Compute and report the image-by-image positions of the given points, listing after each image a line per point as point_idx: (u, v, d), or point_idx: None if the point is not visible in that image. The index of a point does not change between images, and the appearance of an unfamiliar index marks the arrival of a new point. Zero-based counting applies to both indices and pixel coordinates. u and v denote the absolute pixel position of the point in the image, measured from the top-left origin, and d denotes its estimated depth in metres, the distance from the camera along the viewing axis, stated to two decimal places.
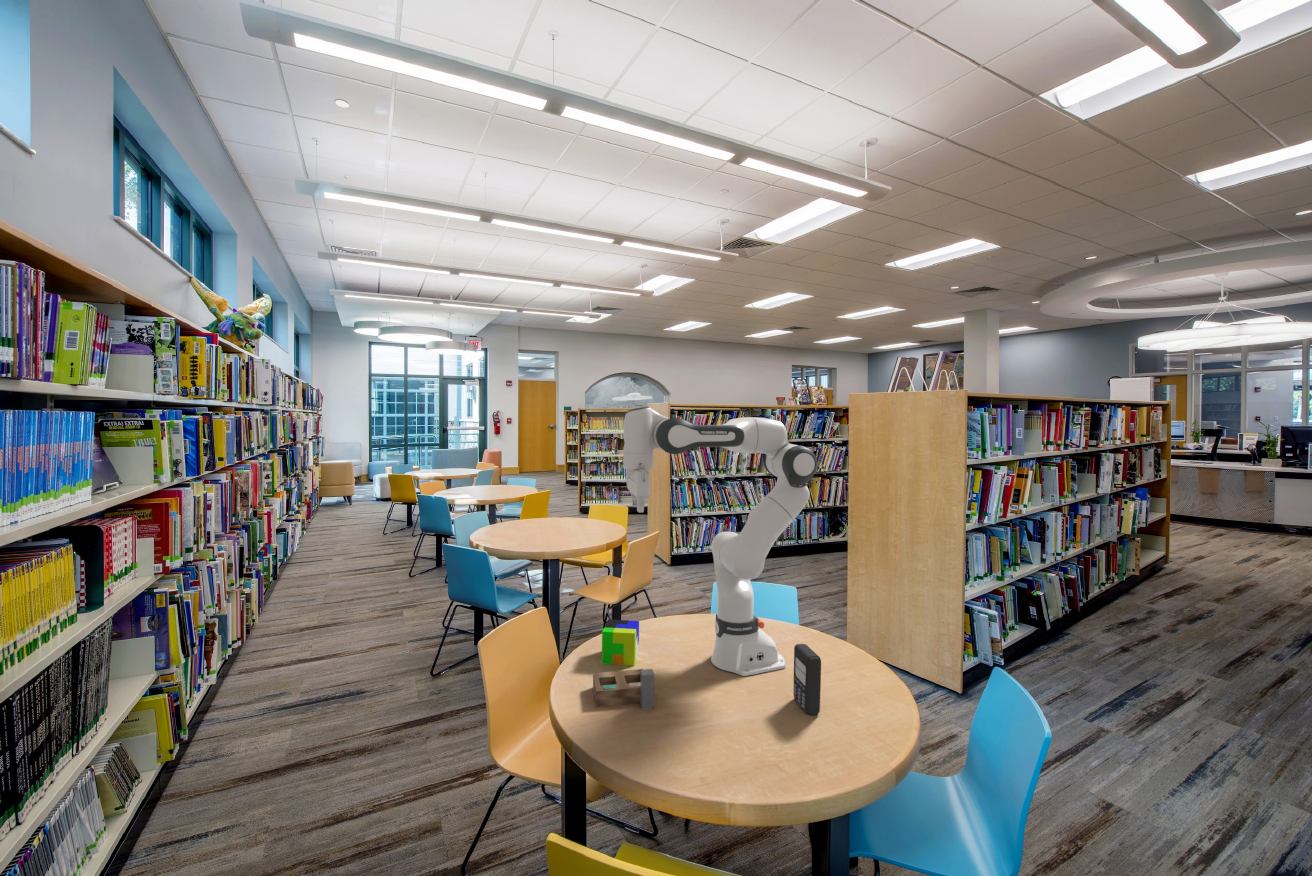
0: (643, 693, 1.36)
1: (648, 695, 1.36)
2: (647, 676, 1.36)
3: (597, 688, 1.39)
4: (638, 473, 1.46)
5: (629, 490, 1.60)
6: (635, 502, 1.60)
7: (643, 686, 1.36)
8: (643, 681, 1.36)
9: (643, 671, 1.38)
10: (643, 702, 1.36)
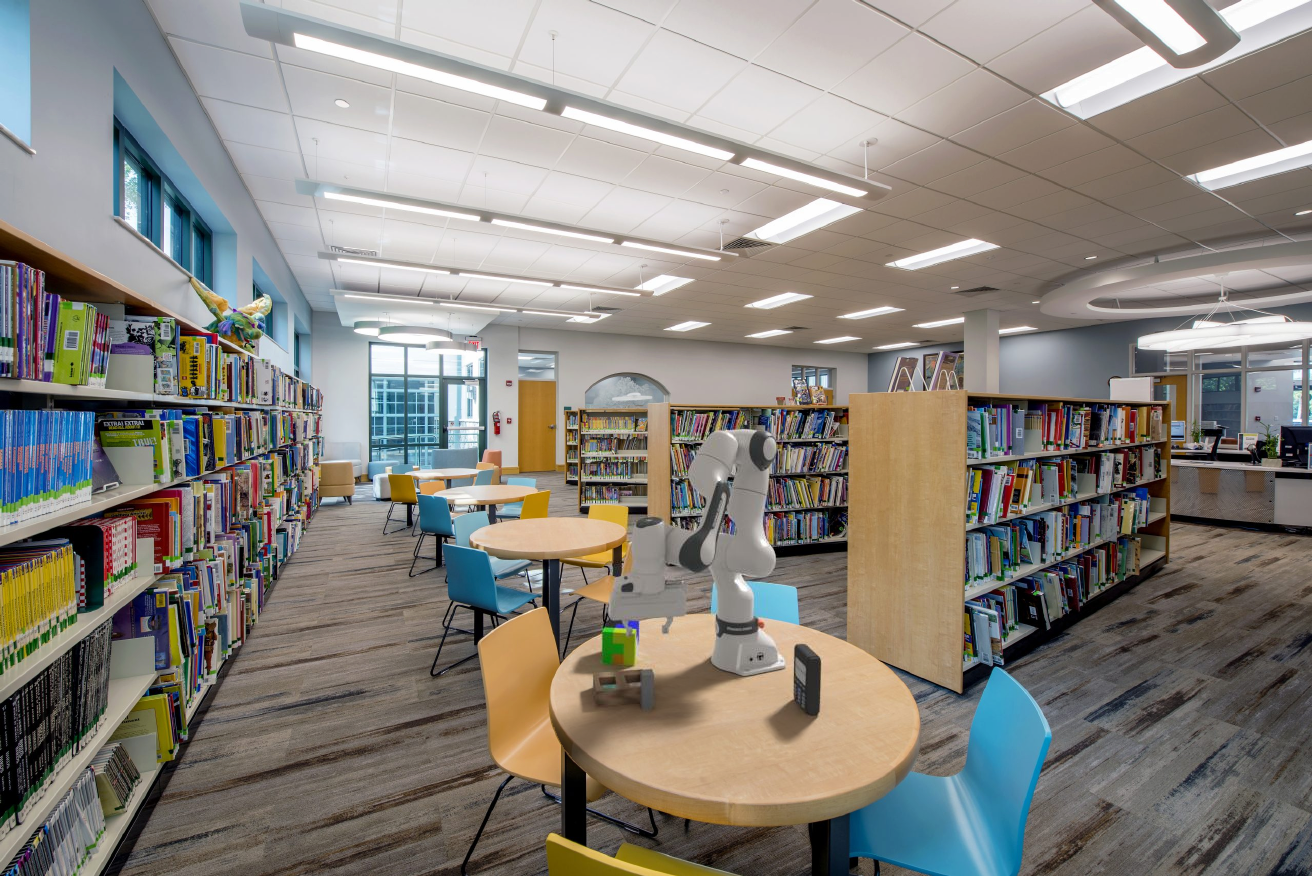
0: (643, 693, 1.36)
1: (648, 695, 1.36)
2: (647, 676, 1.36)
3: (597, 688, 1.39)
4: (682, 590, 1.37)
5: (628, 619, 1.34)
6: None
7: (643, 686, 1.36)
8: (643, 681, 1.36)
9: (643, 671, 1.38)
10: (643, 702, 1.36)
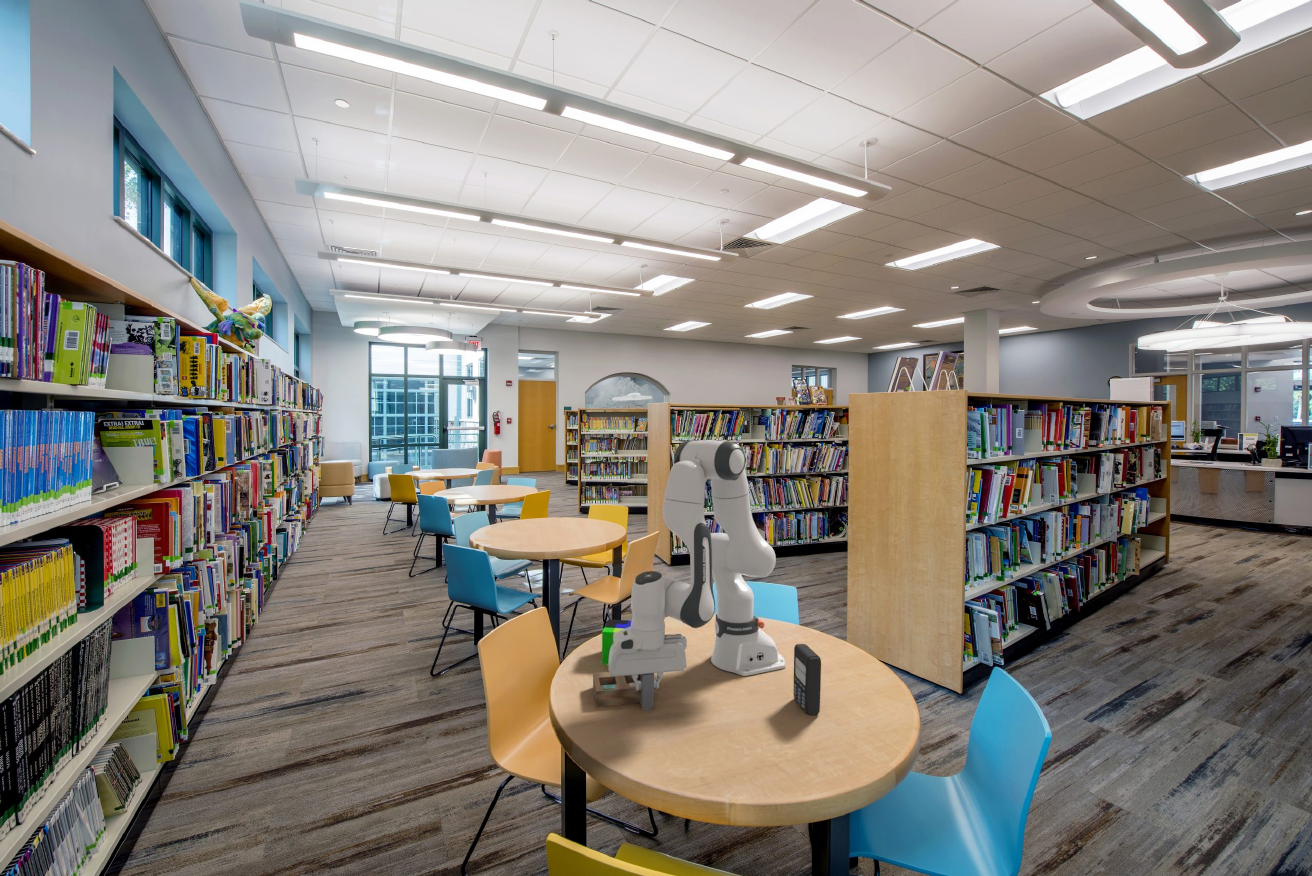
0: (643, 693, 1.36)
1: (648, 695, 1.36)
2: (647, 676, 1.36)
3: (597, 688, 1.39)
4: (682, 644, 1.38)
5: None
6: (641, 683, 1.37)
7: (643, 686, 1.36)
8: (643, 681, 1.36)
9: None
10: (643, 702, 1.36)
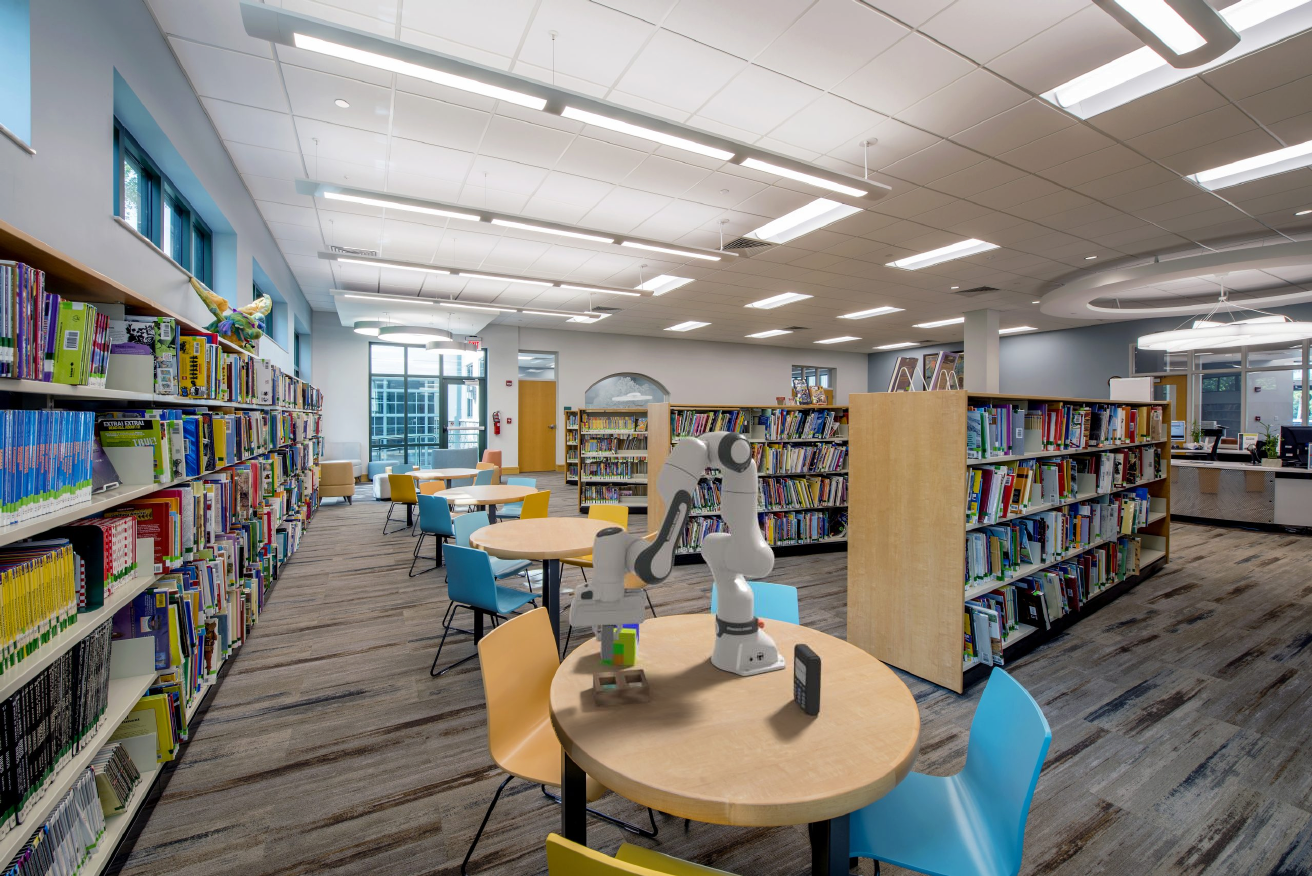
0: (602, 644, 1.40)
1: (607, 646, 1.41)
2: (607, 627, 1.41)
3: (597, 688, 1.39)
4: (641, 598, 1.42)
5: (587, 625, 1.39)
6: None
7: (603, 637, 1.40)
8: (603, 632, 1.40)
9: None
10: (602, 653, 1.40)
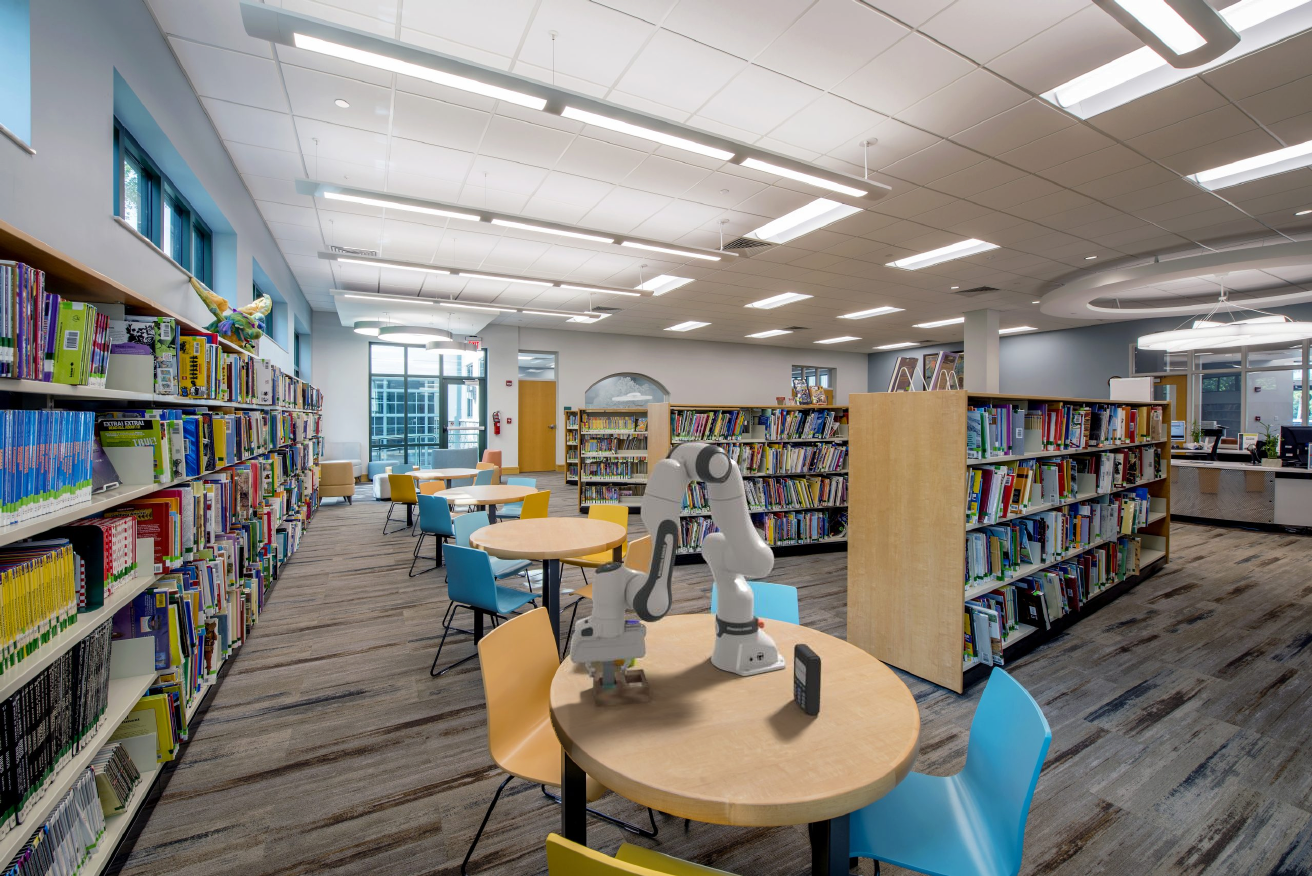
0: (604, 683, 1.41)
1: None
2: (607, 666, 1.41)
3: (597, 688, 1.39)
4: (641, 632, 1.43)
5: (588, 661, 1.40)
6: (594, 671, 1.42)
7: (604, 676, 1.41)
8: (604, 671, 1.41)
9: (604, 662, 1.43)
10: None
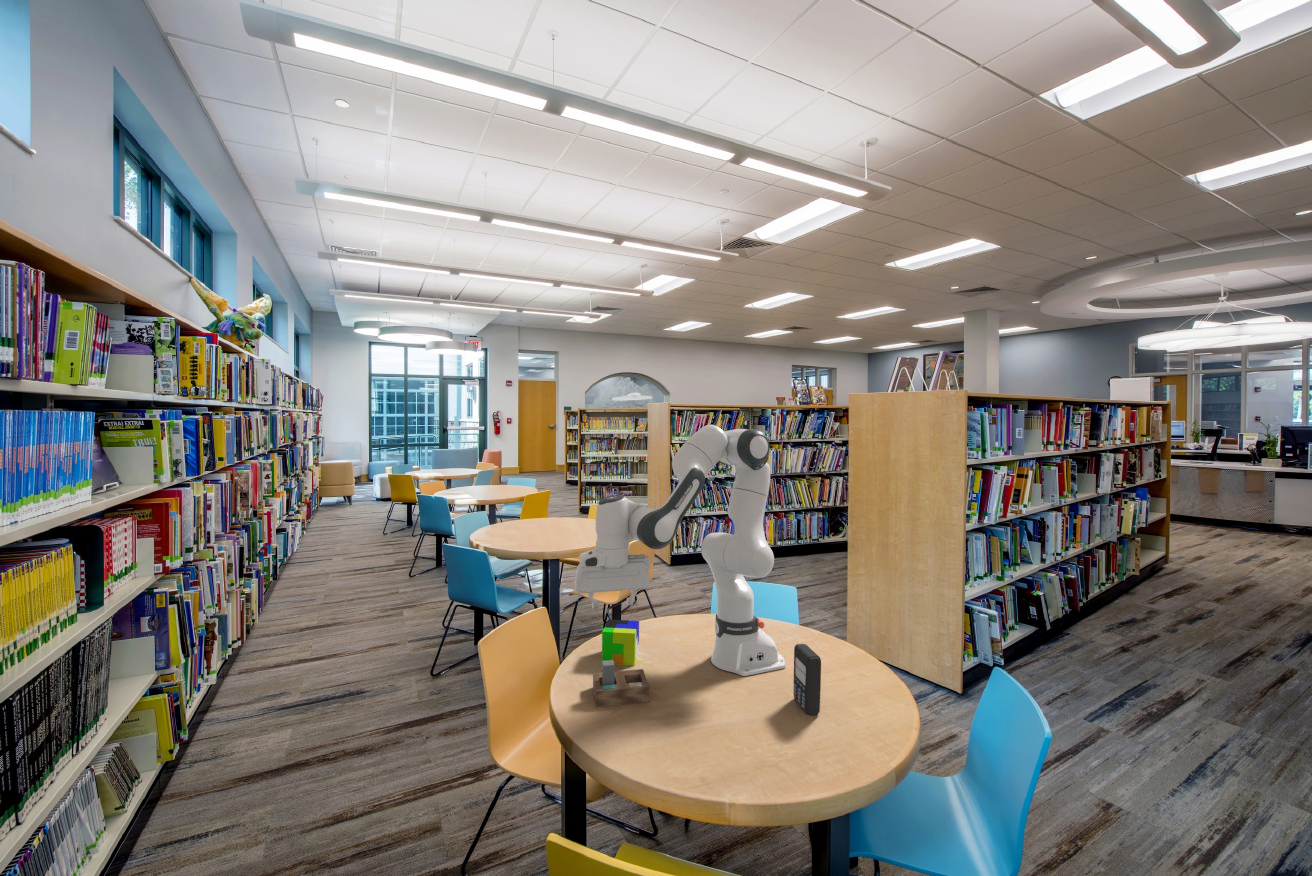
0: (604, 683, 1.41)
1: None
2: (608, 667, 1.41)
3: (597, 688, 1.39)
4: (645, 563, 1.44)
5: (593, 592, 1.41)
6: (597, 602, 1.43)
7: (604, 676, 1.41)
8: (604, 671, 1.41)
9: (604, 662, 1.43)
10: None
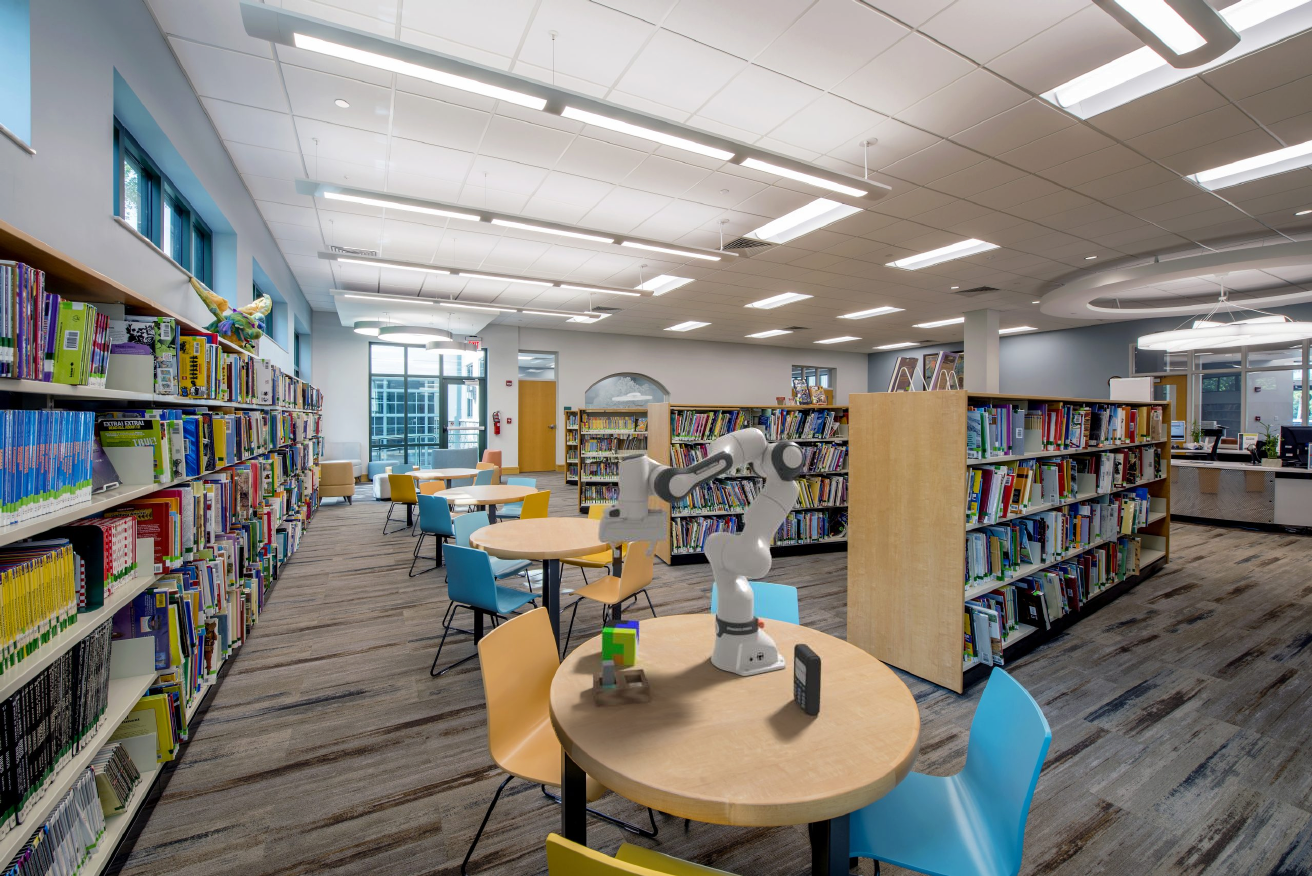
0: (604, 683, 1.41)
1: None
2: (607, 667, 1.41)
3: (597, 688, 1.39)
4: (663, 517, 1.56)
5: (615, 541, 1.53)
6: None
7: (604, 676, 1.41)
8: (604, 671, 1.41)
9: (604, 662, 1.43)
10: None
